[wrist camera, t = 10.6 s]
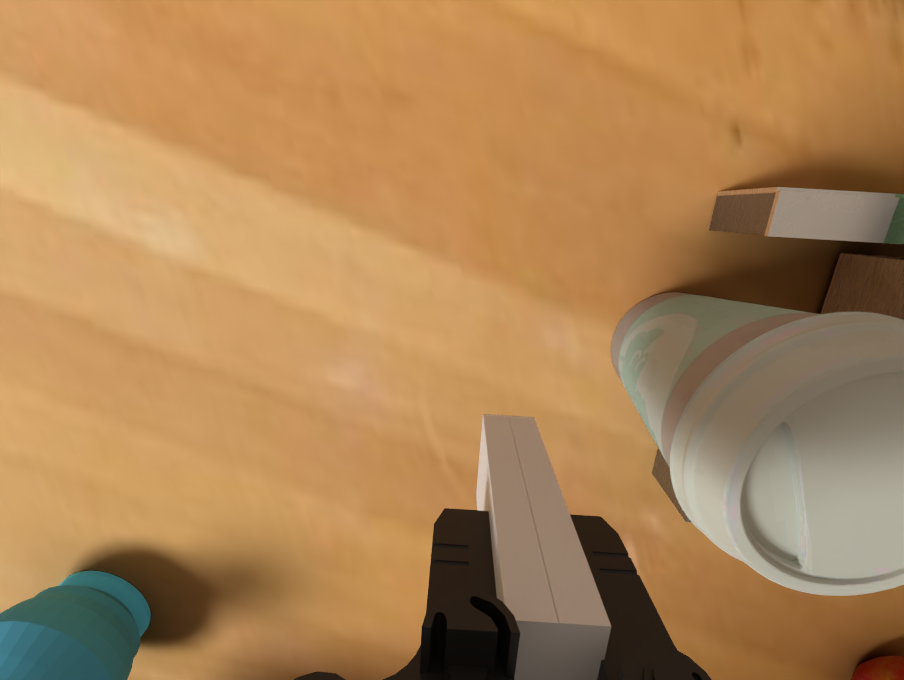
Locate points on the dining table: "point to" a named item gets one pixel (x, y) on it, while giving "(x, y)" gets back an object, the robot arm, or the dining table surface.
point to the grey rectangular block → (867, 285)
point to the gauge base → (801, 233)
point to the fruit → (881, 669)
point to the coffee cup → (777, 432)
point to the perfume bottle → (74, 630)
